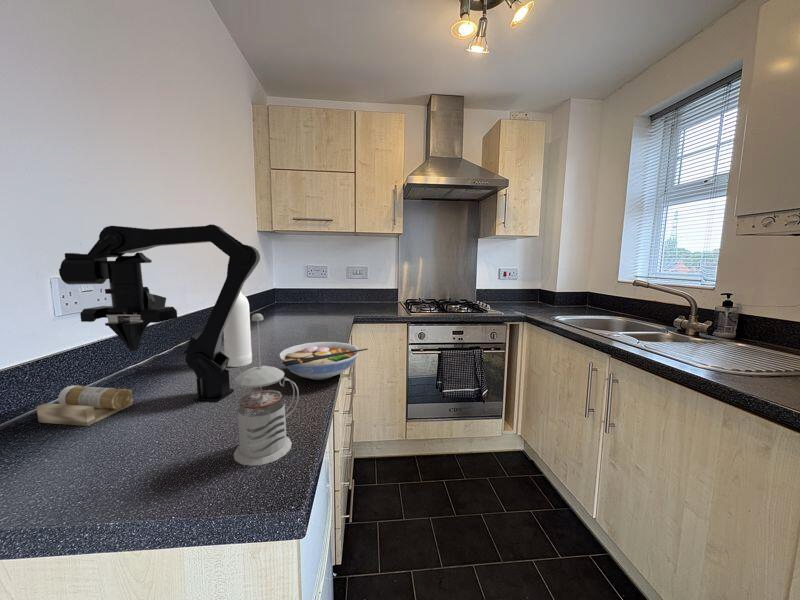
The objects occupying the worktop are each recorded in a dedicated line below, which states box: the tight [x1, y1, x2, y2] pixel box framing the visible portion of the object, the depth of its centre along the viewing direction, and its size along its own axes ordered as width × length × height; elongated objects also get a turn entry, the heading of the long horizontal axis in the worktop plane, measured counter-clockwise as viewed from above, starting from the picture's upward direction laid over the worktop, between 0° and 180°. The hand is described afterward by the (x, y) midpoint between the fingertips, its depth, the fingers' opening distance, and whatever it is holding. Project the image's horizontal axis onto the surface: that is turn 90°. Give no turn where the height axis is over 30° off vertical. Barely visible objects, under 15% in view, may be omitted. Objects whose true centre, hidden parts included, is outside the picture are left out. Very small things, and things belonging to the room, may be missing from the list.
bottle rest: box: [36, 389, 134, 427], centre depth 71 cm, size 12×10×4 cm
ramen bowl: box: [278, 341, 369, 381], centre depth 95 cm, size 25×23×8 cm
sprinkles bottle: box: [57, 385, 131, 411], centre depth 72 cm, size 5×5×14 cm
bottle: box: [223, 290, 253, 368], centre depth 104 cm, size 8×8×30 cm
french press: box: [233, 313, 300, 467], centre depth 58 cm, size 10×12×25 cm
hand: (134, 350), depth 75 cm, fingers closed
